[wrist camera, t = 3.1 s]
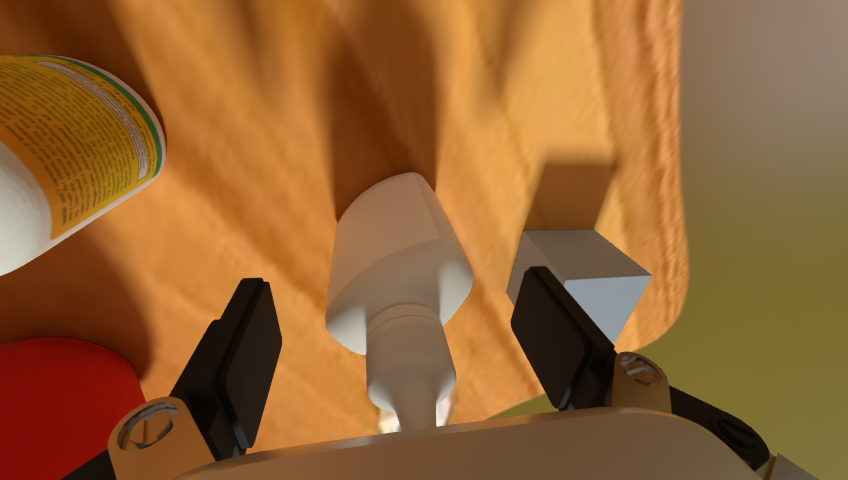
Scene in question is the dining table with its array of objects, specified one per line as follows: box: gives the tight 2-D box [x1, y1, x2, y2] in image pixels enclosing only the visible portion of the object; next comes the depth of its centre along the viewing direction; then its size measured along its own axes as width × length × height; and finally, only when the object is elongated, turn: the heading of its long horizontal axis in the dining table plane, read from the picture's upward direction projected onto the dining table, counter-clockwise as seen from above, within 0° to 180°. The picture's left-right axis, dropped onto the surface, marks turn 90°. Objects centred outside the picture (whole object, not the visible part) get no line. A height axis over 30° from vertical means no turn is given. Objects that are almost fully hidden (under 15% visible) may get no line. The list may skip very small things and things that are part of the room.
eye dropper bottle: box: [325, 172, 474, 431], centre depth 12 cm, size 4×6×12 cm
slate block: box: [506, 229, 652, 342], centre depth 19 cm, size 5×5×5 cm
